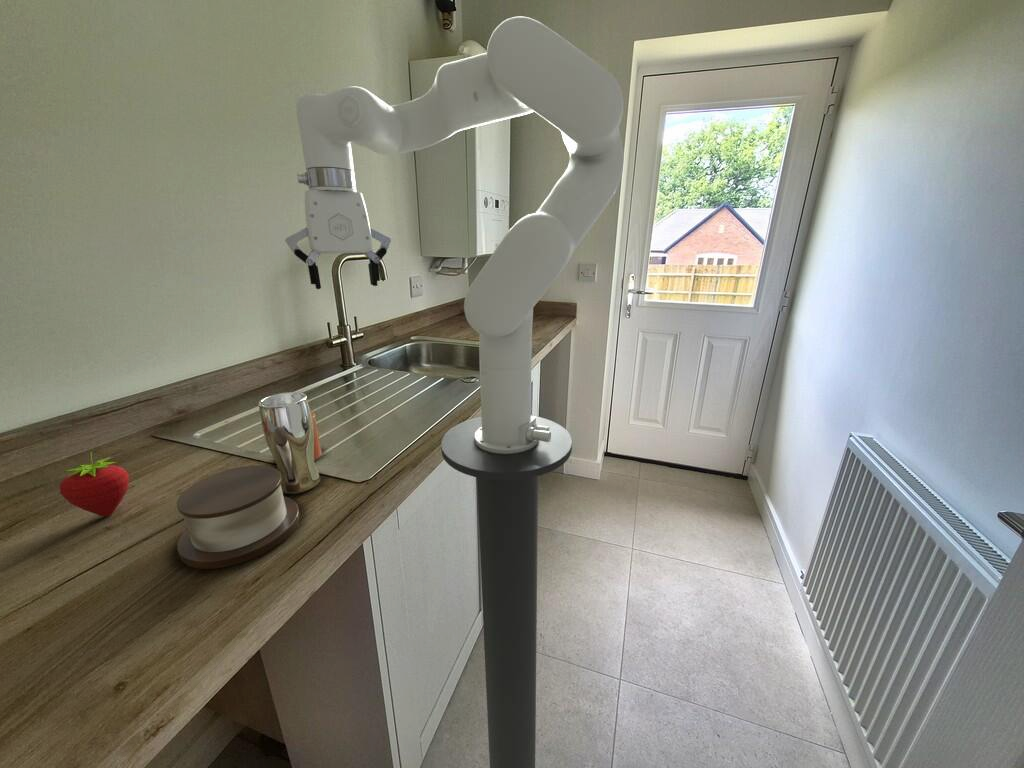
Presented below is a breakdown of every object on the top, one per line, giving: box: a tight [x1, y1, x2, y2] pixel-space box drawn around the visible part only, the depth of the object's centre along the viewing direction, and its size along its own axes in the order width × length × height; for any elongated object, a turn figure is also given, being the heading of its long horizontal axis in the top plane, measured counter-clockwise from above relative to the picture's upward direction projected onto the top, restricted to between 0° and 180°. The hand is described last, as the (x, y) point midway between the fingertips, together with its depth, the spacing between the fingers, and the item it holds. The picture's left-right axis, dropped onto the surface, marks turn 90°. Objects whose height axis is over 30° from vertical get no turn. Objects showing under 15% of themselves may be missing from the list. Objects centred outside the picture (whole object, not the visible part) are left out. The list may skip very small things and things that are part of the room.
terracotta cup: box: [310, 410, 323, 462], centre depth 75 cm, size 7×7×8 cm
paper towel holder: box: [176, 464, 301, 570], centre depth 55 cm, size 14×14×7 cm
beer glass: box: [258, 391, 321, 495], centre depth 65 cm, size 7×7×15 cm
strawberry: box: [59, 451, 130, 518], centre depth 58 cm, size 6×8×10 cm
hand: (347, 286), depth 75 cm, fingers open, 9 cm apart
